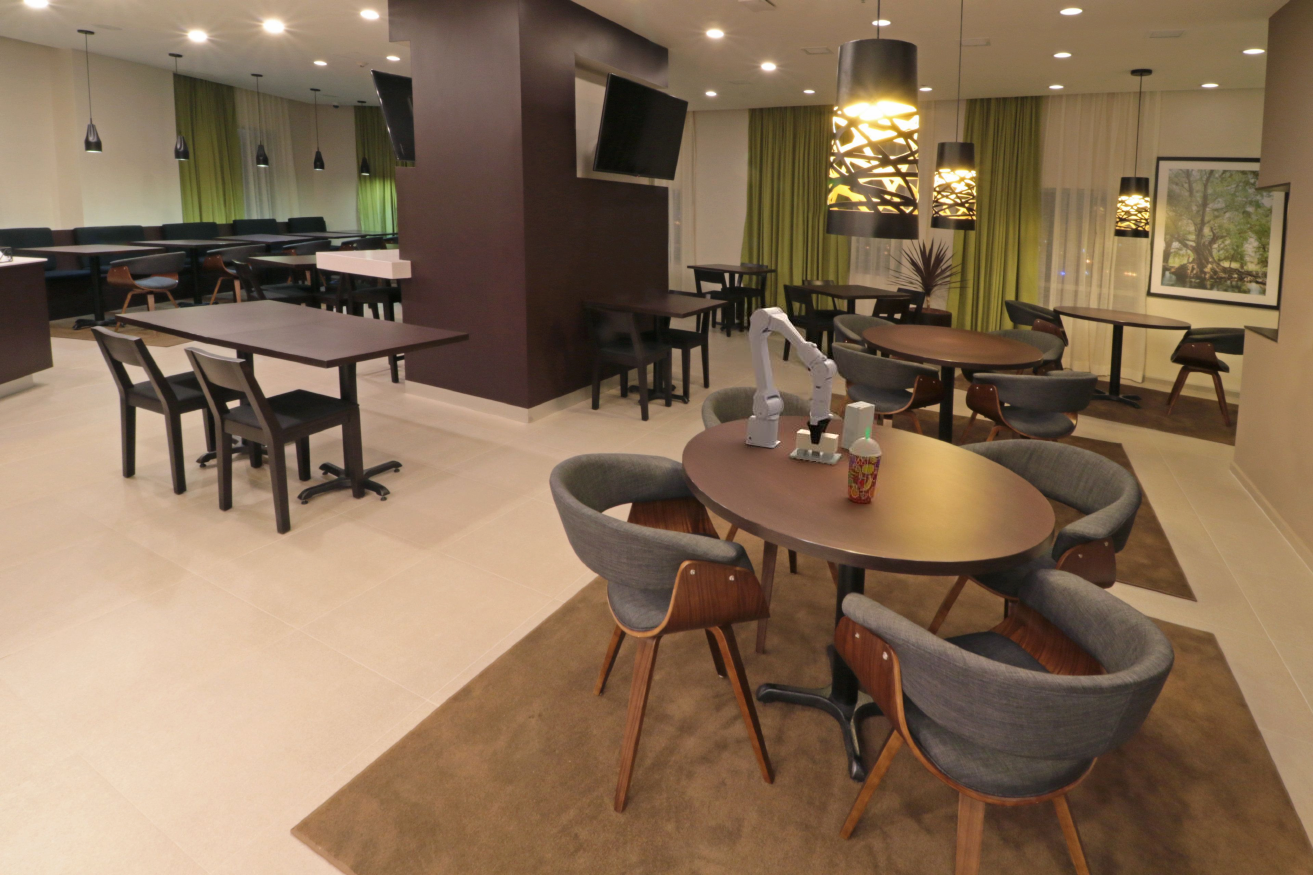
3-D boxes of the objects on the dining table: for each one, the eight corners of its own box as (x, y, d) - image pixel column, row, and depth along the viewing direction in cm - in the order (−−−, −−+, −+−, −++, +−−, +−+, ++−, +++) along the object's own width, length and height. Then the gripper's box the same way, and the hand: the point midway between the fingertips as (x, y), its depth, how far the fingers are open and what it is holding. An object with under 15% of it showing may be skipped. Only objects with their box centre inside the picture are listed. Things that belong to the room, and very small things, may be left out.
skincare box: (856, 443, 263) (861, 400, 259) (871, 448, 259) (876, 404, 254) (840, 447, 258) (844, 403, 254) (855, 452, 253) (860, 407, 249)
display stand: (789, 457, 245) (789, 449, 245) (797, 449, 254) (798, 441, 253) (833, 465, 240) (834, 457, 239) (841, 456, 249) (842, 448, 248)
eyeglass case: (795, 447, 247) (796, 432, 245) (799, 444, 251) (800, 429, 249) (833, 454, 242) (835, 438, 241) (837, 450, 246) (838, 435, 244)
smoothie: (839, 494, 216) (847, 423, 210) (869, 494, 216) (878, 424, 211) (849, 505, 208) (858, 432, 202) (880, 505, 208) (889, 432, 203)
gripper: (828, 406, 234) (824, 450, 238) (839, 396, 247) (835, 438, 250) (805, 402, 237) (801, 446, 241) (817, 393, 249) (813, 434, 253)
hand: (816, 442), depth 246 cm, fingers closed on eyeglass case, 4 cm apart
